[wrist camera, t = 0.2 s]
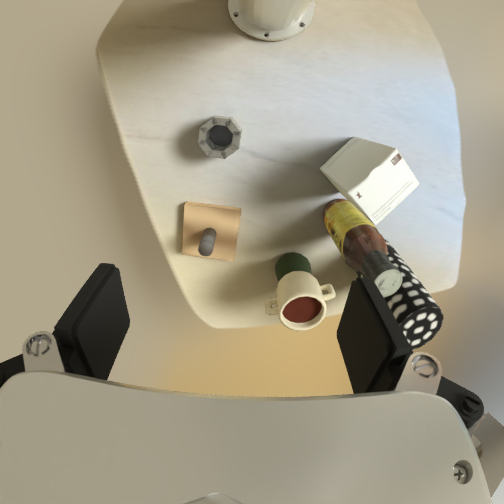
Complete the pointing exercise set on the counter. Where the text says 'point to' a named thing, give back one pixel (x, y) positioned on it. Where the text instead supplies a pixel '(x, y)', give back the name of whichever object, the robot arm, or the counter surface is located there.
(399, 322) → the white-spotted black cylinder
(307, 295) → the character mug
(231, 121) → the tube
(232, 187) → the counter surface
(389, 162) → the skincare box
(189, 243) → the shaft stand
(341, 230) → the sauce bottle
